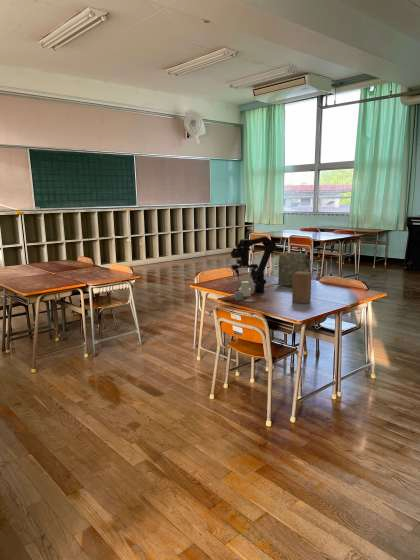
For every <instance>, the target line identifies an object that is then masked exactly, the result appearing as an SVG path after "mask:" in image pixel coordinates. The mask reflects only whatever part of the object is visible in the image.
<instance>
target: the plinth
mask: <svg viewBox="0 0 420 560" xmlns="http://www.w3.org/2000/svg"><path fill="white" fill-rule="evenodd" d="M238 290H239V291H242V292H243V297H252V289H251V287H249V289H245V290H242V289H241V287H239V289H238Z"/></svg>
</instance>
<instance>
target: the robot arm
mask: <svg viewBox="0 0 420 560" xmlns="http://www.w3.org/2000/svg"><path fill="white" fill-rule="evenodd" d="M261 243H262V245H263V246H264V247H263V251H264V252H263V254H262V257H261V260H260V262H259V264H257V263H251V264H249V261H250V258H249V251H251V250H252V249H251V248H250V247H252V246H253V245H256V244H261ZM276 248H277V243H276V242H275V241H273V240H272V239H270V238H269V237H268V236H267V235H266V236H265V235H262V236H259V237H254V238H250V239H249V238H248V239H247V238H243V239H240V240H239V242H238V244H237V246H236V248H232V250H231V251H230V256H231V258H232V259H236V263H235V264H231V265H230V269H231V270H233V271H234V272H235V273H236V276H237V277H236V278H237V279H238V280H239V279H240V274H239V273H240V272H239V269H247V268H248V269H250V276H249V278H250V279H252V283H253V284H254V286H253V288H254V290H253V291H254V292H255V293H258V294H259V293H266V292H265V285H266V284H267V280H266V279H265V269H266V267H267V264H268V263H269V262H268V261H269V259H270V257H271V254H273V252H274V251H276ZM237 258H240V259H237Z"/></svg>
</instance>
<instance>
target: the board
mask: <svg viewBox="0 0 420 560" xmlns="http://www.w3.org/2000/svg"><path fill="white" fill-rule="evenodd" d="M242 301H243V303H256V302H257V301H256V300H255V299H254V298H252V299H251V298H250V299H243V300H242Z"/></svg>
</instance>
